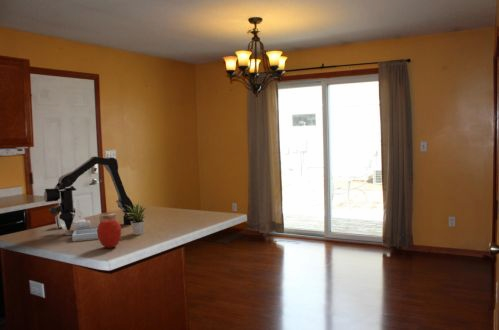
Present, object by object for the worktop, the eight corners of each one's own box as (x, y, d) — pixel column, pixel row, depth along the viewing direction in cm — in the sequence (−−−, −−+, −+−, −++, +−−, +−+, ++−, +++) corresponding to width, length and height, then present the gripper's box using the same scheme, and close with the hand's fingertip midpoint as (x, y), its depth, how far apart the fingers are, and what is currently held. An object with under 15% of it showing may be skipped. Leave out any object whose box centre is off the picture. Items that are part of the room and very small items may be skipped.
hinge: (62, 229, 228) (57, 212, 229) (57, 231, 230) (52, 214, 231) (87, 223, 242) (82, 207, 243) (82, 225, 244) (78, 209, 245)
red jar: (93, 249, 183) (91, 218, 182) (108, 243, 192) (106, 214, 191) (112, 251, 179) (110, 219, 178) (127, 245, 188) (125, 215, 187)
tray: (110, 232, 215) (110, 227, 215) (110, 237, 204) (110, 231, 204) (74, 236, 209) (74, 230, 209) (72, 241, 199) (72, 235, 198)
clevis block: (116, 227, 227) (115, 212, 227) (116, 230, 219) (115, 214, 219) (66, 232, 219) (65, 216, 219) (65, 235, 211) (63, 219, 211)
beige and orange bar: (90, 227, 221) (89, 220, 220) (89, 228, 217) (89, 221, 217) (65, 229, 217) (65, 222, 217) (65, 231, 213) (64, 223, 213)
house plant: (121, 231, 216) (119, 200, 215) (148, 228, 221) (146, 198, 220) (124, 237, 203) (122, 204, 202) (153, 234, 208) (151, 202, 207)
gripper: (52, 198, 221) (54, 227, 222) (47, 203, 203) (49, 234, 204) (74, 197, 224) (76, 225, 225) (71, 201, 207) (73, 232, 208)
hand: (68, 229), depth 216 cm, fingers open, 4 cm apart
